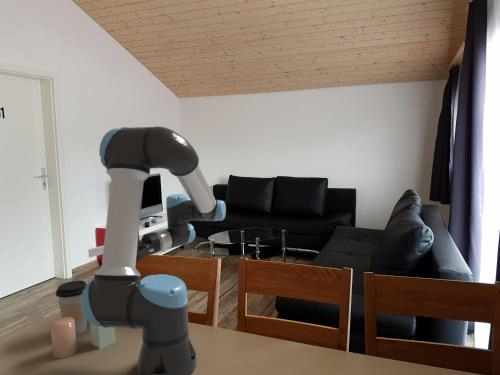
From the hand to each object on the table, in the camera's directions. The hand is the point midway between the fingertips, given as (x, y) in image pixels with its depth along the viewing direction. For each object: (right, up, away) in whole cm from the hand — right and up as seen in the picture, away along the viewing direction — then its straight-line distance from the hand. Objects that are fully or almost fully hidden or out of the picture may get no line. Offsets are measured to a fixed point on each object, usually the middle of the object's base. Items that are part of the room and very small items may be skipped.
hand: (97, 258), depth 120 cm
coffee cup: (-6, -23, -3) cm, 23 cm away
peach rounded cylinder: (-3, -24, -15) cm, 28 cm away
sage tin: (+6, -23, -10) cm, 26 cm away
